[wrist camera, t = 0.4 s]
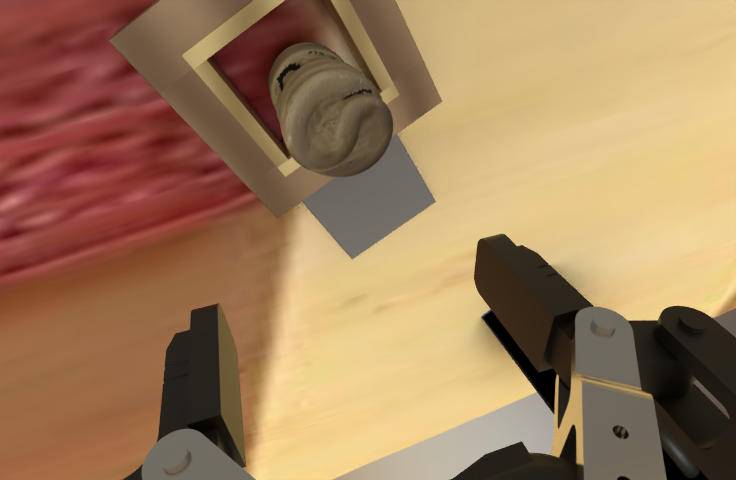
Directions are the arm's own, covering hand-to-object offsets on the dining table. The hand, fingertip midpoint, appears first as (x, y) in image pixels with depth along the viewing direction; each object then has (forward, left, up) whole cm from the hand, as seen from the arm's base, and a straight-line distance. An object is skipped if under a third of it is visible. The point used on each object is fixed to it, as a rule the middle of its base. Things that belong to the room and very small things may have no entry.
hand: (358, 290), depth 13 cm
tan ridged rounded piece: (-2, 0, -24) cm, 24 cm away
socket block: (-2, 0, -24) cm, 24 cm away
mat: (-1, +13, -24) cm, 28 cm away
